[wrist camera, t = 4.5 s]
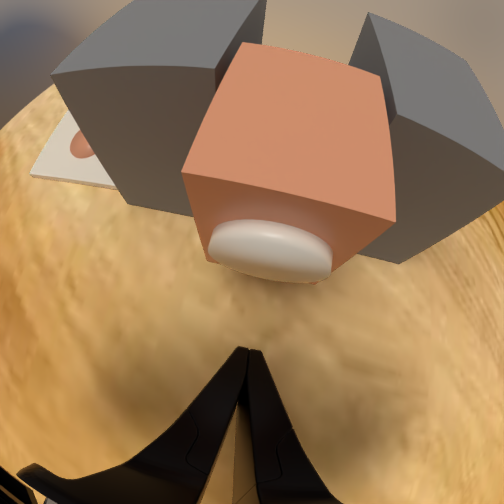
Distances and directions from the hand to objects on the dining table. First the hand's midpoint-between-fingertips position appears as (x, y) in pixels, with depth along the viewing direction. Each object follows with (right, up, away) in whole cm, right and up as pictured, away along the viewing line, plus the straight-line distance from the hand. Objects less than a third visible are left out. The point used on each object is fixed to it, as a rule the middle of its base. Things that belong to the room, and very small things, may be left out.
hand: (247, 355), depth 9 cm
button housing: (+2, +10, +11) cm, 15 cm away
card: (-14, +13, +11) cm, 22 cm away
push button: (+1, +5, +4) cm, 7 cm away
